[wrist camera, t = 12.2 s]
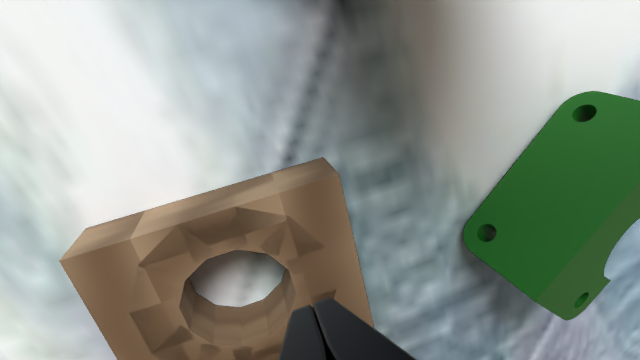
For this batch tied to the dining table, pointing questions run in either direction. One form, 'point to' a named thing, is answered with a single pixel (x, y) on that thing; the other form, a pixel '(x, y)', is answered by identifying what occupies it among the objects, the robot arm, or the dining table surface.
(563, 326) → the dining table surface
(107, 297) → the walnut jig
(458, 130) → the dining table surface
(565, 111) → the clamp
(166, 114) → the dining table surface
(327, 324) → the robot arm
